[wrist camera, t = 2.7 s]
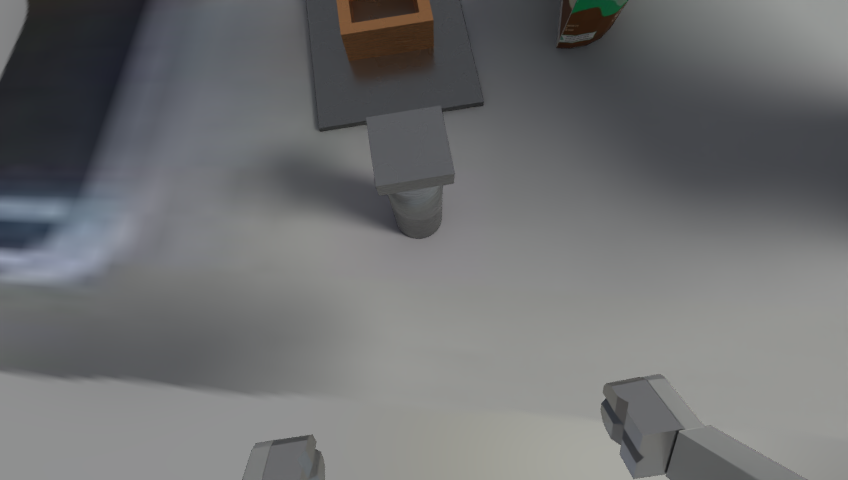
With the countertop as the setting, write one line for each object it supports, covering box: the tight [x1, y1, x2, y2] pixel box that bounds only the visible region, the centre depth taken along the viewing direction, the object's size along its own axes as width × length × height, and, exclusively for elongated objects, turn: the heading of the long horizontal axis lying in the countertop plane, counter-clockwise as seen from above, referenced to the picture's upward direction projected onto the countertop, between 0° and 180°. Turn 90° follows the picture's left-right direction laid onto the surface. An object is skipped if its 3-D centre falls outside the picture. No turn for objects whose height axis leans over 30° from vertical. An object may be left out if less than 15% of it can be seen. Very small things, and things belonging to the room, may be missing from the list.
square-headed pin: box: [366, 105, 455, 239], centre depth 26 cm, size 4×4×11 cm
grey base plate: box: [306, 0, 484, 131], centre depth 34 cm, size 14×20×4 cm
